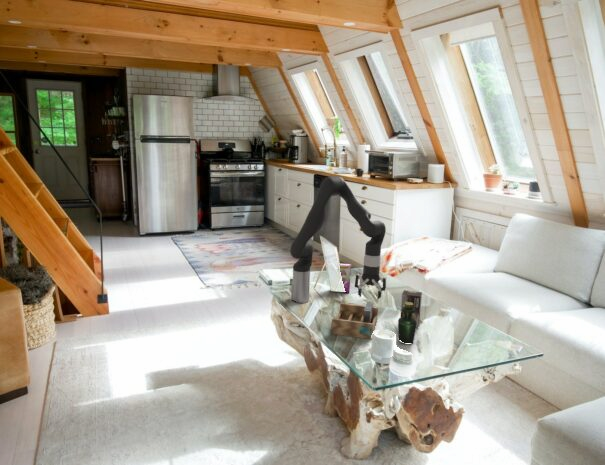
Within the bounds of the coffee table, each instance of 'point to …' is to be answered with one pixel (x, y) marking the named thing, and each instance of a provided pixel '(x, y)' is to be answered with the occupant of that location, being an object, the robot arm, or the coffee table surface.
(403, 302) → the coffee box
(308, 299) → the robot arm
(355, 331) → the rack
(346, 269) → the candy bar box
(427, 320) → the coffee table surface
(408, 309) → the potion bottle
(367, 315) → the panel
